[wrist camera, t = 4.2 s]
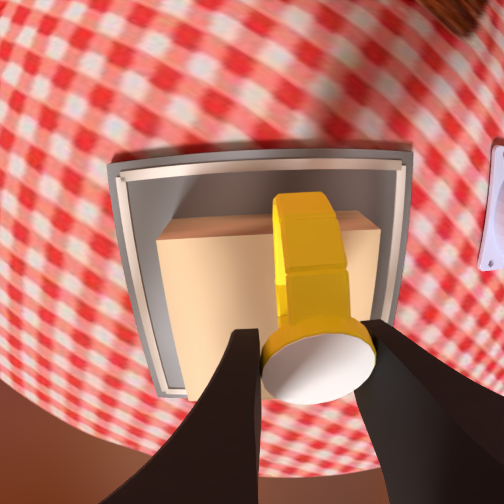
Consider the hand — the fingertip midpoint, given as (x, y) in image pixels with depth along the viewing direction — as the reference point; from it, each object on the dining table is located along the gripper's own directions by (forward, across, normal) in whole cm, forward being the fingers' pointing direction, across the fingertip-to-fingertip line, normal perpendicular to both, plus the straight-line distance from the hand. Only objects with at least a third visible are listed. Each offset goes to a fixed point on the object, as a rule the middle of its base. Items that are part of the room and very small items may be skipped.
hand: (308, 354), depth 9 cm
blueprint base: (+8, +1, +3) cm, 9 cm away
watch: (+4, 0, -1) cm, 5 cm away
